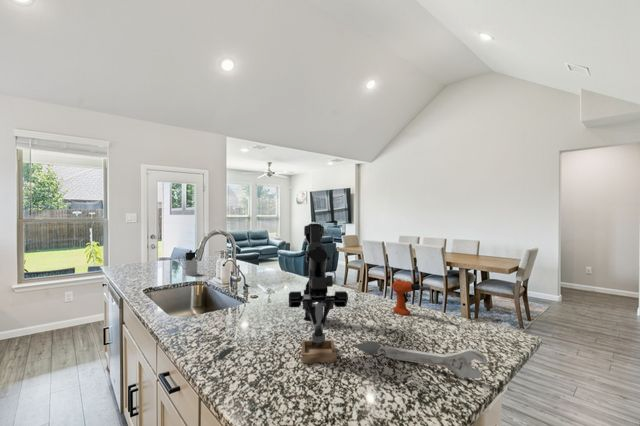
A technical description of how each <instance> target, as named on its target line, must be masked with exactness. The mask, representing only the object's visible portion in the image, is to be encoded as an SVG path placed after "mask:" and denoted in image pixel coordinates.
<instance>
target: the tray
mask: <svg viewBox="0 0 640 426" xmlns="http://www.w3.org/2000/svg"><path fill="white" fill-rule="evenodd" d="M337 355H338V353H337V349H336V346H335V343H334V339H325V346H323V347H314V346H312V339H305V340H304V339H301V364H318V363H322V362H323V363H327V362H328V363H329V362H332V363H333V362H337V359H338V358H337V357H338V356H337Z"/></svg>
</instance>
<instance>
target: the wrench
mask: <svg viewBox="0 0 640 426" xmlns="http://www.w3.org/2000/svg"><path fill="white" fill-rule="evenodd" d="M380 349H384V350H385V351H384V352H385V355H384V357H385V358H390V359H392V360H399V361H404V362H411V363H416V364H417V363H418V364H424V365H425V364H426V365H430V366H438V367H444V368H446V369H449V370H450V371H451V372H453V373H454V374H456V375H457V378H459V379H461V380H462V381H465V378H467V379H472V380H473V379H480V378H482V377H484V375H485V374H484V373H483V372H482V371H481V370H479V369H476V368H474V367H472V365H471V362H473V360H476V361H478V362H481V363H482V364H484V365H487V364H488V363H487V362H488V359H487V357H486V356H485V355H484V353H482V352H481V351H479V350H477V349H475V348H467V349H464V350H461V351H458V352H454V353H448V354H444V353H443V354H442V353H434V352H428V351H420V350H414V349H407V348H399V347H393V346H387V345H381V347H380V348H379V349H378V353H377V355H378V356H380V355H381V354H382V352H381V351H380Z"/></svg>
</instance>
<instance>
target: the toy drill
mask: <svg viewBox="0 0 640 426" xmlns="http://www.w3.org/2000/svg"><path fill="white" fill-rule="evenodd" d="M391 287H392V291H393V292H394V293H395V294H396V304H395V306H393V312H392V313H395V314H398V315H401V316H406V317H407V316H410V315H411V311H410V310H409V309H408V308H407V305H406V304H407V302H409V299H408V296H407V294H406V293H411V292H414V291H420V290H431V287H430V286H423V285H422V286H421V285H420V284H419V283H418V284H416V283H413V282H411V281H408V280H407V281H405V280H401V279H397V280H395V281H394V282H393V283H392V285H391Z"/></svg>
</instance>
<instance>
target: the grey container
mask: <svg viewBox="0 0 640 426" xmlns="http://www.w3.org/2000/svg"><path fill="white" fill-rule="evenodd" d="M180 256H183V260H184V262H185V263H184V264H185V265H184V266H185V267H184V266H183V265H182V263H181V261H180V259H178V262H179V265H180V266H181V267H182V269H183V270H185V271H184V276H185V277H189V276H190V277H191V276H197V275H199V273H198V260H197V261H196V260H195V252H190V251H189V252H185V255H184V254H179V255H178V258H180Z"/></svg>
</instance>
